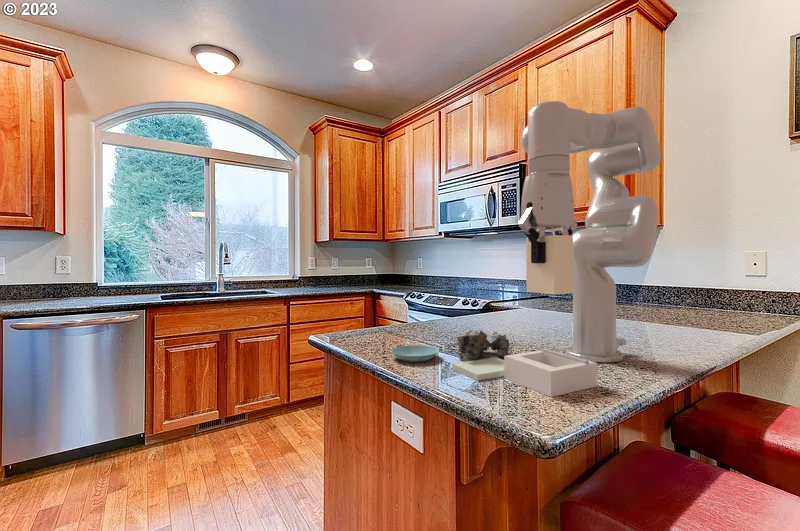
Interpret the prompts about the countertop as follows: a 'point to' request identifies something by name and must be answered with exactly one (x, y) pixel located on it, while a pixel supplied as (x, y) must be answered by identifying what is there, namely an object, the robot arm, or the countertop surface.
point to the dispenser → (550, 372)
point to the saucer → (415, 353)
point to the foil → (481, 345)
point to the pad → (481, 368)
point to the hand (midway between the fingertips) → (549, 261)
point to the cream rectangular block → (551, 267)
